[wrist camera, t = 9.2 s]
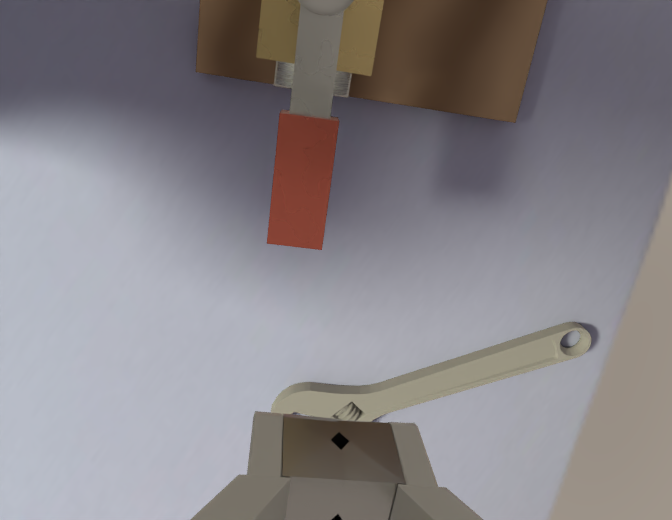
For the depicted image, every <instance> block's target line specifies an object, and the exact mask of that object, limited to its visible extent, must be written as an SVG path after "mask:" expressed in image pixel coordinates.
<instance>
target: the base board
mask: <svg viewBox="0 0 672 520" xmlns="http://www.w3.org/2000/svg"><path fill="white" fill-rule="evenodd" d="M261 1H262V0H200V10H199V27H198V43H197V59H196V72H199V73H205V74H212V75H218V76H224V77H231V78H237V79H243V80H249V81H256V82H262V83H268V84H274V78H275V68H276V61H275V60H269V59H263V58H256V53H257V42H258V32H259V22H260V12H261ZM546 4H547V0H384V4H383V10H382V15H381V21H380V27H379V33H378V39H377V45H376V51H375V57H374V63H373V69H372V75H371V76H367V75H361V74H355V73H352V76H351V82H350V89H349V95H348V96H350V97H356V98H363V99H369V100H375V101H381V102H388V103H394V104H400V105H407V106H413V107H419V108H425V109H432V110H438V111H444V112H451V113H457V114H463V115H469V116H476V117H482V118H488V119H495V120H501V121H507V122H513V123H515V122H516V118H517V115H518V111H519V107H520V103H521V99H522V95H523V92H524V88H525V84H526V80H527V76H528V73H529V69H530V65H531V61H532V57H533V54H534V50H535V46H536V42H537V38H538V35H539V31H540V27H541V23H542V19H543V15H544V12H545V8H546Z"/></svg>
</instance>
